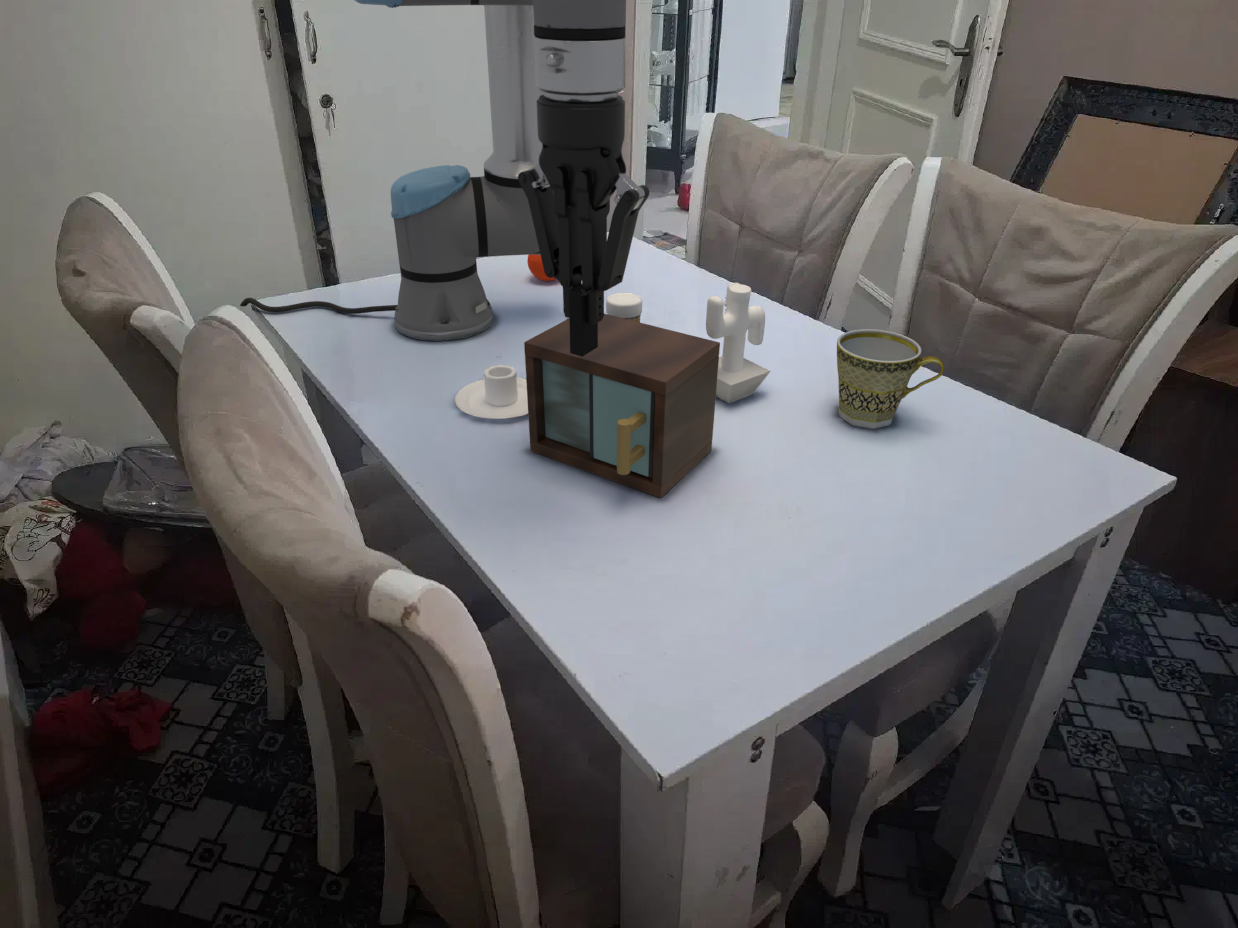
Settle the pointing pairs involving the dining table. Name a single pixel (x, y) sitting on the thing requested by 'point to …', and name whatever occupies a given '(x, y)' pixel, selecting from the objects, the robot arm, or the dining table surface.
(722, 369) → the figurine
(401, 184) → the robot arm
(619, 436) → the glass door
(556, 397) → the cabinet
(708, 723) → the dining table surface
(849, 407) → the ceramic cup
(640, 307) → the sprinkles bottle
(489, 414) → the candle holder
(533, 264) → the clementine
